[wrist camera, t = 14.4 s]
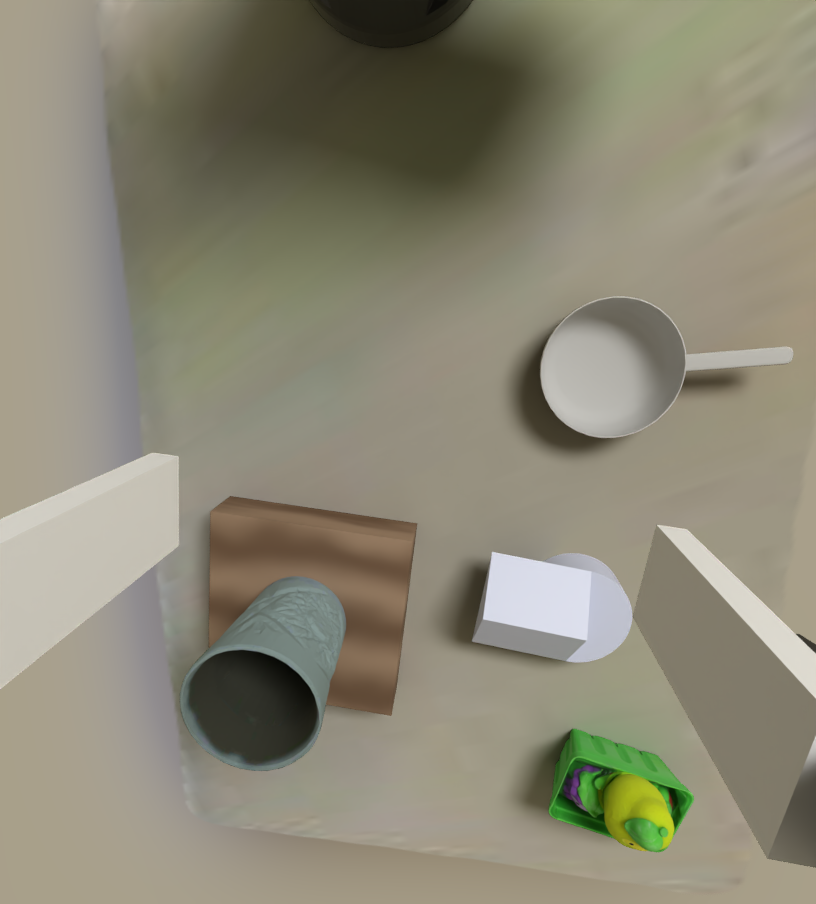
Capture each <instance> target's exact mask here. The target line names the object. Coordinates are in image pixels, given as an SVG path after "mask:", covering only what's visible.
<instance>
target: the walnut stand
mask: <svg viewBox="0 0 816 904" xmlns="http://www.w3.org/2000/svg"><path fill="white" fill-rule="evenodd" d="M416 529H417V524H416V523H410V522H403V521H396V520H389V519H382V518H376V517H369V516H362V515H355V514H348V513H341V512H335V511H328V510H321V509H314V508H307V507H300V506H294V505H287V504H280V503H273V502H266V501H259V500H253V499H246V498H239V497H232V496H230V497H229V498H227V499H226V500H225V501H223V502H222V503H221V504H219V505H218V506H217V507H216V508H214V509H213V510H212V511H210V589H209V648H210V647H211V646H212V645H213V644H214V643H215V642H216V641H217V640H218V639H219V638H220V637H221V636H222V635H223V634H224V633H225V632H226V631H227V629H228V628H229V627H230V626H231V625H232V624H233V623H234V622H235V621H236V620H237V619H238V617H239V616H240V615H242V614H243V613H244V612H245V611H246V609H247V608H248V607H249V606H250V605H251V604H252V603H253V602H254V600H255V599H256V598H257V597H258V596H259V594H260V593H261V592H262V591H263V590H264V589H265V588H266V587H267V586H269V585H270V584H272V583H274V582H275V581H277V580H279V579H282V578H286V577H291V576H300V577H307V578H311V579H314V580H316V581H318V582H320V583H322V584H323V585H325V586H326V587H328V588H329V589H330V590H331V591H332V592H333V593H334V594H335V595H336V596H337V598H338V599H339V601H340V602H341V604H342V606H343V609H344V613H345V617H346V631H345V636H344V639H343V643H342V647H341V651H340V654H339V658H338V661H337V664H336V668H335V672H334V674H333V676H332V678H331V681H330V683H329V684H330V687H329V693H328V696H327V701H326V704H327V705H333V706H338V707H344V708H350V709H355V710H361V711H367V712H373V713H378V714H384V715H390V716H391V715H392V709H393V704H394V699H395V693H396V688H397V680H398V672H399V664H400V656H401V648H402V640H403V632H404V625H405V617H406V609H407V601H408V593H409V585H410V577H411V569H412V561H413V553H414V545H415V537H416Z"/></svg>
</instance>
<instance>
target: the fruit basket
mask: <svg viewBox="0 0 816 904" xmlns="http://www.w3.org/2000/svg"><path fill="white" fill-rule="evenodd" d="M693 801H694V796H693V795H692V793H691V792H690V791H689V790H688V789H687V788H686V787H685V786H684V785H683V784H681V783H680V782H679V781H678V779H677V778H676V777H675V776H674V775H673V773H672V772H671V771H670V770H669V769H668V767H667V766H666V765H665V764H664V763H663V761H662V760H661V759H660V758H659V757H658V756H657V755H654V754H651V753H648V752H642V751H640V752H639V751H638V750H636V749H635V748H632V747H629V746H626V745H623V744H617V743H616V744H615V743H614V742H612V741H611V740H608V739H605V738H602V737H599V736H591V735H589V734H588V733H586V732H583V731H580V730H577V729H572V730H571V733H570V738H569V739H568V740H567V741H566V744H565V746H564V748H563V750H562V752H561V755H560V760H559V761H558V762H557V763H556V766H555V774H554V783H553V792H552V797H551V799H550V804H549V814H550V815H551V816H552V817H553V818H555V819H557V820H560V821H563V822H566V823H569V824H572V825H575V826H578V827H582V828H585V829H587V830H591V831H594V832H596V833H600V834H603V835H606V836H608V837H611V838H614V839H616V840H617V841H618V842H619V843H621V844H622V845H624V846H626V847H629V848H633V849H637V850H640V851H653V852H662V851H664V850H665V849H667V847H668V846H669V844H670V843H671V840H672V838H673V836H674V834H675V833H676V831H677V829H678V827H679V826H680V824H681V822H682V820H683V819H684V817H685V816H686V814H687V812H688V810H689V809H690V807H691V805H692V803H693Z"/></svg>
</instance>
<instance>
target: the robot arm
mask: <svg viewBox="0 0 816 904" xmlns="http://www.w3.org/2000/svg"><path fill="white" fill-rule="evenodd" d="M310 1H311V3H312V4H313V6H314V7H315V8H316V10H317V11H318V12H319V13H320V15H321V16H322V17H323V18H324V19H325V20H326V21H327V22H328V23H329V24H330V25H331V26H333V27H334V28H335V29H336V30H338V31H339V32H341V33H342V34H344V35H345V36H347V37H349V38H351V39H353V40H355V41H358V42H360V43H364V44H367V45H371V46H377V47H401V46H407V45H411V44H415V43H418V42H421V41H423V40H425V39H428V38H430V37H432V36H434V35H435V34H437V33H439V32H440V31H442V30H443V29H444V28H446V27H447V26H449V25H450V24H451V23H452V22H453V21H454V20H455V19H456V18H458V17H459V16H460V15H461V14H462V12H463V11H464V10H465V9H466V8H467V7H468V5H469V4H470V3H471V1H472V0H310ZM178 546H179V456H173V455H166V454H159V453H151V454H148V455H146V456H144V457H141V458H139V459H137V460H135V461H132V462H130V463H128V464H125V465H123V466H121V467H119V468H116V469H114V470H112V471H110V472H107V473H105V474H103V475H100V476H98V477H96V478H93V479H91V480H89V481H87V482H84V483H82V484H80V485H77V486H75V487H73V488H71V489H68V490H66V491H64V492H62V493H59V494H57V495H54V496H52V497H50V498H48V499H45V500H43V501H41V502H39V503H36V504H34V505H32V506H29V507H27V508H25V509H23V510H20V511H18V512H16V513H14V514H11V515H9V516H7V517H4V518H2V519H0V689H1V688H2V687H3V686H5V685H6V684H7V683H8V682H10V681H11V680H12V679H13V678H15V677H16V676H17V675H18V674H20V673H21V672H22V671H23V670H25V669H26V668H27V667H28V666H30V665H31V664H32V663H33V662H34V661H36V660H37V659H38V658H40V657H41V656H42V655H43V654H45V653H46V652H47V651H48V650H49V649H51V648H52V647H53V646H55V645H56V644H57V643H58V642H60V640H62V639H63V638H64V637H66V636H67V635H68V634H69V633H71V632H72V631H73V630H74V629H76V628H77V627H78V626H79V625H81V624H82V623H83V622H84V621H86V620H87V619H88V618H89V617H90V616H92V615H93V614H94V613H96V612H97V611H98V610H99V609H101V608H102V607H103V606H104V605H105V604H107V603H108V602H109V601H111V600H112V599H113V598H114V597H116V596H117V595H118V594H119V593H120V592H122V591H123V590H124V589H126V588H127V587H128V586H129V585H130V584H132V583H133V582H134V581H136V580H137V579H138V578H139V577H140V576H142V575H143V574H144V573H145V572H147V571H148V570H149V569H150V568H152V567H153V566H154V565H155V564H157V563H158V562H159V561H160V560H162V559H163V558H164V557H165V556H167V555H168V554H169V553H170V552H172V551H173V550H174V549H175V548H177V547H178ZM633 618H634V620H635V622H636V623H637V625H638V627H639V629H640V631H641V632H642V634H643V636H644V638H645V640H646V641H647V643H648V645H649V647H650V649H651V650H652V652H653V654H654V656H655V658H656V659H657V661H658V663H659V665H660V667H661V668H662V670H663V672H664V674H665V676H666V677H667V679H668V681H669V683H670V685H671V686H672V688H673V690H674V692H675V694H676V695H677V697H678V699H679V701H680V703H681V704H682V706H683V708H684V710H685V712H686V713H687V715H688V717H689V719H690V721H691V722H692V724H693V726H694V728H695V730H696V731H697V733H698V735H699V737H700V739H701V740H702V742H703V744H704V746H705V747H706V749H707V751H708V753H709V755H710V756H711V758H712V760H713V762H714V764H715V765H716V767H717V769H718V771H719V773H720V774H721V776H722V778H723V780H724V782H725V783H726V785H727V787H728V789H729V791H730V792H731V794H732V796H733V798H734V800H735V801H736V803H737V805H738V807H739V809H740V810H741V812H742V814H743V816H744V818H745V819H746V821H747V823H748V825H749V827H750V828H751V830H752V832H753V834H754V836H755V837H756V839H757V841H758V843H759V845H760V846H761V848H762V850H763V852H764V854H765V855H766V857H767V859H772V860H778V861H783V862H789V863H794V864H799V865H804V866H810V867H816V644H814V643H812V642H811V641H809V640H807V639H806V638H804V637H803V636H801V635H800V634H795V633H794V632H793V631H791V629H790V628H788V626H787V625H786V624H784V623H783V622H782V621H781V620H780V619H779V618H778V617H777V616H776V615H775V614H774V613H773V612H772V611H771V610H770V609H769V608H768V607H767V606H766V605H765V604H764V603H763V602H762V601H761V600H760V599H759V598H758V597H756V596H755V595H754V594H753V593H752V592H751V591H750V590H749V589H748V588H747V587H746V586H745V585H744V584H743V583H742V582H741V581H740V580H739V579H738V578H737V577H736V576H735V575H734V574H733V573H732V572H731V571H729V570H728V569H727V568H726V567H725V566H724V565H723V564H722V563H721V562H720V561H719V560H718V559H717V558H716V557H715V556H714V555H713V554H712V553H711V552H710V551H709V550H708V549H707V548H706V547H705V546H704V545H703V544H701V543H700V542H699V541H698V540H697V539H696V538H695V537H694V536H693V535H692V534H691V533H690V532H689V531H688V530H687V529H682V528H675V527H668V526H661V525H656V529H655V533H654V537H653V540H652V544H651V548H650V552H649V556H648V560H647V564H646V567H645V571H644V575H643V579H642V583H641V587H640V590H639V594H638V598H637V602H636V606H635V610H634V614H633Z"/></svg>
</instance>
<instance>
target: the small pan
mask: <svg viewBox="0 0 816 904" xmlns="http://www.w3.org/2000/svg"><path fill="white" fill-rule="evenodd" d="M792 359H793V350H792V348H790V347H774V348H762V349H749V350H736V351H723V352H711V353H698V354H686V349H685V345H684V341H683V338H682V336H681V334H680V331H679V329H678V327H677V326H676V325H675V323H674V322H673V321H672V319H671V318H670V317H669V316H668V315H667V314H666V313H665V312H663V311H662V310H661V309H660V308H658V307H656V306H655V305H653V304H651V303H649V302H646V301H644V300H641V299H638V298H632V297H626V296H619V297H607V298H602V299H598V300H595V301H592V302H590V303H587V304H585V305H583V306H581V307H579V308H578V309H576V310H574V311H573V312H571V313H570V314H569V315H568V316H566V317H565V318H564V319H563V320H562V321H561V322H560V323H559V324H558V325H557V327H556V328H555V329H554V330H553V332H552V334H551V335H550V337H549V338H548V340H547V342H546V345H545V347H544V349H543V353H542V357H541V362H540V380H541V387H542V390H543V393H544V396H545V399H546V400H547V402H548V404H549V406H550V408H551V409H552V411H553V412H554V413H555V414H556V416H557V417H558V418H559V419H560V420H561V421H562V422H564V423H565V424H566V425H567V426H569V427H570V428H572V429H574V430H576V431H577V432H580V433H583V434H585V435H588V436H593V437H599V438H615V437H622V436H627V435H630V434H633V433H636V432H638V431H640V430H642V429H644V428H646V427H648V426H650V425H651V424H653V423H654V422H655V421H657V420H658V419H659V418H660V417H661V416H662V415H663V414H664V413H665V412H666V411H667V410H668V409H669V408H670V407H671V405H672V404H673V402H674V401H675V400H676V398H677V396H678V394H679V392H680V390H681V388H682V385H683V381H684V378H685V374H686V372H687V371H700V370H714V369H728V368H741V367H755V366H769V365H783V364H788V363H790V362H791V360H792Z"/></svg>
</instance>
